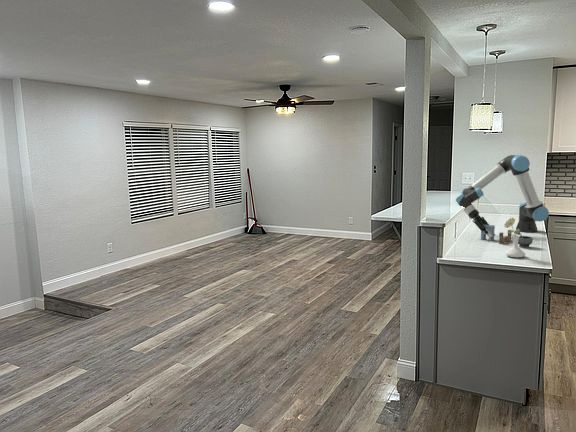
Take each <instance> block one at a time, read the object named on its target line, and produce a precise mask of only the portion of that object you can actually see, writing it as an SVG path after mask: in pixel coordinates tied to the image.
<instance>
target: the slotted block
mask: <svg viewBox="0 0 576 432" xmlns="http://www.w3.org/2000/svg"><path fill="white" fill-rule="evenodd" d="M483 225H484V227H485V228H486V229H487V230H488V231H489V232H490V233H491V234H492V235H493V236H492V237H490V238H489V237H488V242H489V241H490V242H493V241H495V236H494V233H495V229H496V228H495V227H496V225H491V224H489V225H485V224H483ZM486 238H487V234H486V233H485V232H484V231H483V232H482V231H481V230H480V240H481V241H484V240H486Z"/></svg>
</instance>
